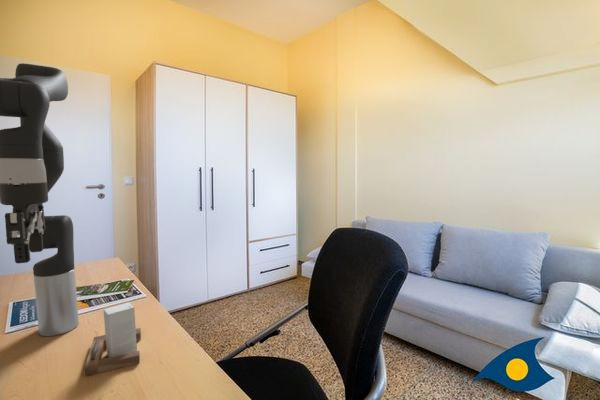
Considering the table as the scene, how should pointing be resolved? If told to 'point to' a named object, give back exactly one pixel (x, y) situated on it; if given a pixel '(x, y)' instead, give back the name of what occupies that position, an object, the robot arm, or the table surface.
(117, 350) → the skincare box
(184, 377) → the table surface
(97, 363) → the wooden u-shaped block
